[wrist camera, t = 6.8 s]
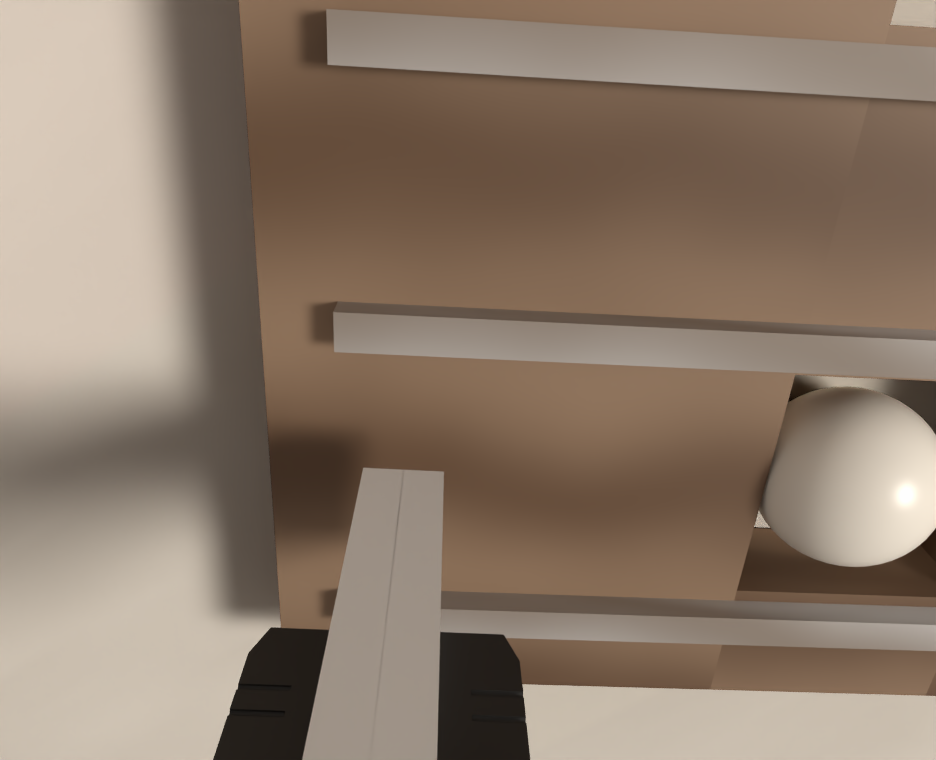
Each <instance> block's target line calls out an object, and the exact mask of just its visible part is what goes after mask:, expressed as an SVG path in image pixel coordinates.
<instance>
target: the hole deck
mask: <svg viewBox="0 0 936 760" xmlns="http://www.w3.org/2000/svg"><path fill="white" fill-rule="evenodd" d="M896 1H897V0H239V12H240V27H241V41H242V56H243V71H244V86H245V101H246V115H247V130H248V145H249V160H250V175H251V189H252V204H253V219H254V234H255V249H256V263H257V278H258V293H259V308H260V323H261V337H262V352H263V367H264V382H265V397H266V411H267V426H268V441H269V456H270V471H271V485H272V500H273V515H274V530H275V545H276V560H277V574H278V589H279V604H280V619H281V628H297V629H323V630H329V629H330V624H331V620H332V615H333V610H334V605H335V600H336V596H337V591H338V586H339V581H340V577H341V572H342V567H343V562H344V557H345V553H346V548H347V543H348V538H349V534H350V529H351V524H352V519H353V514H354V510H355V505H356V500H357V495H358V491H359V486H360V481H361V476H362V471H363V468H380V469H400V470H421V471H442V472H444V491H443V533H442V574H441V616H440V632H453V633H479V634H504V636H505V638H506V639H507V641H508V642H509V644H510V646H511V647H512V649H513V651H514V652H515V654H516V656H517V657H518V659H519V661H520V667H521V677H522V684H537V685H572V686H608V687H643V688H678V689H713V690H749V691H784V692H819V693H855V694H890V695H925V696H936V528H935V530H934V531H933V532H932V533H931V534H930V536H929V537H928V538H927V539H926V540H925V541H924V542H923V543H921V544H920V545H919V546H918V547H917V548H915V549H914V550H912V551H911V552H909V553H907V554H906V555H904V556H902V557H900V558H897V559H895V560H893V561H889V562H886V563H883V564H879V565H873V566H866V567H848V566H838V565H833V564H828V563H825V562H822V561H819V560H816V559H813V558H811V557H809V556H806V555H804V554H802V553H800V552H799V551H797V550H796V549H794V548H792V547H791V546H790V545H788V544H787V543H786V542H784V541H783V540H782V539H781V538H780V537H779V536H778V535H777V534H776V533H775V532H774V531H773V530H772V529H767V528H754V525H755V522H756V518H757V514H758V511H759V507H760V503H761V500H762V496H763V492H764V488H765V485H766V481H767V477H768V474H769V470H770V466H771V463H772V459H773V455H774V451H775V448H776V444H777V440H778V437H779V433H780V429H781V426H782V422H783V418H784V415H785V411H786V407H787V403H788V400H789V396H790V392H791V389H792V385H793V381H794V378H795V375H811V376H833V377H855V378H877V379H899V380H922V381H936V28H930V27H914V26H899V25H890V23H891V19H892V15H893V12H894V8H895V4H896Z"/></svg>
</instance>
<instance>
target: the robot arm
mask: <svg viewBox="0 0 936 760" xmlns="http://www.w3.org/2000/svg"><path fill="white" fill-rule="evenodd" d="M443 491H444V472H442V471H421V470H400V469H380V468H363V471H362V476H361V481H360V486H359V491H358V495H357V500H356V505H355V510H354V514H353V519H352V524H351V529H350V534H349V538H348V543H347V548H346V553H345V557H344V562H343V567H342V572H341V577H340V581H339V586H338V591H337V596H336V600H335V605H334V610H333V615H332V620H331V624H330V629H329V630H323V629H297V628H270V629H269V630H268V632H267V633H266V634H265V635H264V636H263V637H262V638H261V639H260V641H259V642H258V643H257V644H256V645H255V646H254V647H253V649H252V650H251V651H250V652H249V653H248V656H247V659H246V662H245V665H244V668H243V671H242V674H241V677H240V680H239V683H238V690H236V692H235V695H234V698H233V701H232V704H231V707H230V714H229V716H227V719H226V722H225V725H224V729H223V732H222V735H221V738H220V741H219V744H218V747H217V750H216V753H215V756H214V759H213V760H530V754H529V745H528V735H527V725H526V722H525V718H526V716H525V706H524V698H523V687H522V677H521V667H520V661H519V659H518V657H517V656H516V654H515V652H514V651H513V649H512V647H511V646H510V644H509V642H508V641H507V639H506V638H505V636H504V634H479V633H453V632H440V616H441V574H442V533H443Z"/></svg>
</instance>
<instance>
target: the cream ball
mask: <svg viewBox="0 0 936 760" xmlns="http://www.w3.org/2000/svg"><path fill="white" fill-rule="evenodd" d="M759 511H760V513H761V515H762V516H763V518H764V520H765V521H766V523H767V524H768V525H769V526H770V528H771V529H772V530H773V531H774V532H775V533H776V534H777V535H778V536H779V537H780V538H781V539H782V540H783V541H784V542H786V543H787V544H788V545H790V546H791V547H792V548H794V549H796V550H797V551H799V552H800V553H802V554H804V555H806V556H809V557H811V558H813V559H816V560H819V561H822V562H825V563H828V564H833V565H838V566H848V567H866V566H873V565H879V564H883V563H886V562H889V561H893V560H895V559H897V558H900V557H902V556H904V555H906V554H907V553H909V552H911V551H912V550H914V549H915V548H917V547H918V546H919V545H920V544H921V543H923V542H924V541H925V540H926V539H927V538H928V537H929V536H930V534H931V533H932V532H933V531H934V530H935V528H936V434H935V433H934V432H933V430H932V429H931V427H930V426H929V425H928V424H927V423H926V422H925V421H924V420H923V419H922V417H921V416H919V415H918V414H917V413H916V412H915V411H913V410H912V409H911V408H909V407H908V406H906V405H905V404H903V403H902V402H900V401H898V400H896V399H894V398H892V397H890V396H888V395H885V394H882V393H880V392H877V391H873V390H869V389H864V388H857V387H831V388H823V389H819V390H816V391H812V392H809V393H806V394H804V395H801V396H799V397H797V398H795V399H793V400H792V401H790V402H788V403H787V407H786V411H785V415H784V418H783V422H782V426H781V429H780V433H779V437H778V440H777V444H776V448H775V451H774V455H773V459H772V463H771V466H770V470H769V474H768V477H767V481H766V485H765V488H764V492H763V496H762V500H761V503H760V507H759Z"/></svg>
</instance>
